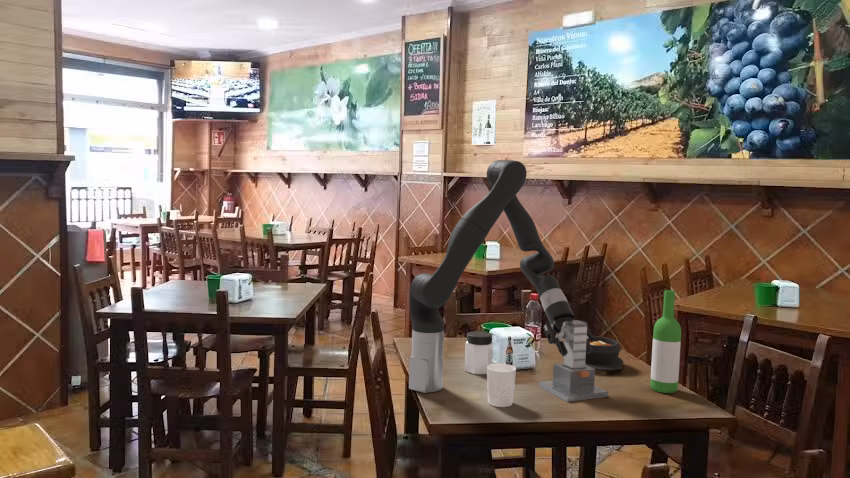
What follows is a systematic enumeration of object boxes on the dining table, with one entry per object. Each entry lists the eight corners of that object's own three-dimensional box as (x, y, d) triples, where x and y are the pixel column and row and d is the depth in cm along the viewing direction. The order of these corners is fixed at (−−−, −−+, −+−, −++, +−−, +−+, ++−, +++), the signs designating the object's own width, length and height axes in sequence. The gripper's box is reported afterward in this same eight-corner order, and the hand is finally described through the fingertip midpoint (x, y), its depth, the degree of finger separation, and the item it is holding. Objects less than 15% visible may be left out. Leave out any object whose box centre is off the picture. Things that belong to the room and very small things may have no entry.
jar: (486, 376, 198) (487, 338, 197) (461, 372, 201) (462, 335, 200) (494, 369, 206) (496, 332, 205) (470, 365, 209) (472, 329, 208)
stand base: (607, 396, 181) (609, 371, 181) (567, 401, 176) (568, 375, 175) (578, 382, 194) (579, 358, 194) (539, 386, 189) (540, 362, 188)
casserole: (635, 376, 203) (636, 350, 202) (578, 375, 202) (579, 349, 201) (608, 355, 228) (610, 332, 227) (557, 354, 227) (558, 331, 226)
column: (585, 388, 184) (588, 323, 182) (571, 389, 182) (574, 324, 180) (574, 383, 188) (578, 320, 187) (561, 384, 186) (564, 320, 185)
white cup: (495, 396, 179) (497, 361, 178) (520, 403, 174) (521, 367, 173) (480, 403, 173) (481, 367, 172) (504, 410, 168) (506, 373, 167)
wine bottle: (679, 389, 190) (685, 290, 188) (675, 396, 184) (681, 293, 181) (652, 384, 194) (658, 287, 192) (647, 391, 188) (653, 290, 185)
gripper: (541, 300, 187) (562, 348, 177) (581, 298, 193) (604, 345, 183) (531, 315, 192) (551, 362, 183) (570, 312, 198) (591, 358, 188)
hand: (577, 353), depth 183 cm, fingers open, 8 cm apart
